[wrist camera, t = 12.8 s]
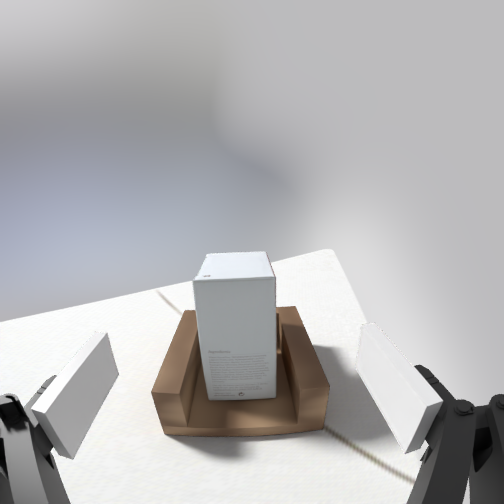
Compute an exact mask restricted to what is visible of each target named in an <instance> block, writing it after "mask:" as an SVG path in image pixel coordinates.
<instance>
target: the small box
mask: <svg viewBox="0 0 504 504" xmlns="http://www.w3.org/2000/svg"><path fill="white" fill-rule="evenodd" d="M192 283H193V291H194V301H195V310H196V317H197V327H198V336H199V343H200V351H201V358H202V364H203V371H204V377H205V383H206V389H207V394H208V399H209V400H249V399H267V398H276V368H277V366H276V357H277V353H276V277H275V274H274V272H273V269H272V266H271V264H270V261H269V258H268V255H267V252H239V253H216V254H215V253H213V254H207V255H206V258H205V260H204V263H203V264H202V267H201V268H200V270H199V272H198V274H197V275H196V277H195V278H194V280H193V281H192Z"/></svg>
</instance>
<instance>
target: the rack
mask: <svg viewBox="0 0 504 504" xmlns="http://www.w3.org/2000/svg"><path fill="white" fill-rule="evenodd" d="M276 353H277V357H276V366H277V368H276V398H267V399H249V400H209V399H208V394H207V389H206V383H205V377H204V371H203V364H202V358H201V351H200V343H199V336H198V327H197V317H196V310H185V311H184V313H183V316H182V318H181V320H180V323H179V325H178V328H177V330H176V332H175V335H174V337H173V339H172V342H171V344H170V347H169V349H168V351H167V354H166V356H165V359H164V361H163V364H162V366H161V369H160V371H159V374H158V376H157V379H156V381H155V384H154V386H153V389H152V391H151V393H152V397H153V400H154V403H155V407H156V410H157V413H158V416H159V419H160V422H161V425H162V428H163V431H164V434H170V435H184V436H210V437H236V436H262V435H276V434H287V433H297V432H306V431H313V430H320V429H323V425H324V420H325V414H326V408H327V402H328V395H329V389H330V386H329V383H328V381H327V379H326V376H325V374H324V371H323V369H322V367H321V364H320V362H319V360H318V357H317V355H316V353H315V350H314V348H313V346H312V343H311V341H310V339H309V336H308V334H307V332H306V329H305V327H304V325H303V323H302V320H301V318H300V316H299V313H298V311H297V309H296V306H290V307H276Z"/></svg>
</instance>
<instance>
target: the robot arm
mask: <svg viewBox="0 0 504 504" xmlns="http://www.w3.org/2000/svg"><path fill="white" fill-rule="evenodd" d="M355 369H356V370H357V372H358V374H359V375H360V377H361V379H362V380H363V382H364V384H365V386H366V387H367V389H368V391H369V392H370V394H371V396H372V398H373V399H374V401H375V403H376V405H377V406H378V408H379V410H380V411H381V413H382V415H383V417H384V418H385V420H386V422H387V424H388V426H389V427H390V429H391V431H392V433H393V434H394V436H395V438H396V440H397V442H398V443H399V445H400V447H401V449H402V451H403V452H404V454H406V453H409V452H412V451H415V450H418V449H420V448H421V446H422V444H423V442H424V440H426V441H427V443H428V444H429V446H428V448H427V449H426V451H425V453H424V455H423V457H422V458H421V460H420V461H423V462H422V465H421V468H420V470H419V473H418V476H417V479H416V481H415V484H414V487H413V489H412V492H411V494H410V497H409V499H408V501H407V504H462V502H463V499H464V494H465V490H466V486H467V481H468V477H469V486H470V504H504V394H498V395H495V396H493V397H492V398H491V400H490V402H489V404H488V405H484V406H477V407H475V406H474V405H473V404H472V403H471V402H469V401H466V400H456V399H454V397H453V396H452V395H451V394H450V392H449V391H448V390H447V389H446V388H445V387H444V386H443V385H442V384H441V383H439V380H438V379H437V378H436V377H434V375H433V374H432V373H431V371H430V370H429V369H427V368H425V367H423V366H422V365H416V366H413V365H412V364H411V362H410V361H409V360H408V359H407V358H406V357H405V356H404V354H403V353H402V352H401V351H400V350H399V349H398V348H397V347H396V346H395V345H394V343H393V342H392V341H391V340H390V339H389V338H388V337H387V335H386V334H385V333H384V332H383V331H382V330H381V329H380V328H379V327H378V326H377V325H376V323H369V324H362V326H361V334H360V341H359V347H358V353H357V359H356V365H355ZM118 375H119V373H118V370H117V366H116V363H115V360H114V356H113V353H112V349H111V345H110V341H109V338H108V334H107V332H94V333H93V335H92V336H91V337H90V338H89V339H88V340H87V341H86V342H85V344H84V345H83V346H82V347H81V348H80V349H79V351H78V352H77V353H76V354H75V355H74V356H73V357H72V359H71V360H70V361H69V362H68V363H67V365H66V366H65V367H64V368H63V369H62V370H61V372H60V373H59V374H58V375H57V376H56V375H54V376H52V377H51V378H49V379H48V380H46V381H45V383H44V384H43V385H42V386H41V388H40V389H39V390H38V391H37V393H35V395H34V396H33V397H32V398H31V400H30V401H29V402H28V403H27V404H26V406H25V407H24V408H23V407H22V405H21V403H20V401H19V399H18V397H17V396H16V395H14V394H4V395H1V396H0V504H71V503H70V501H69V499H68V496H67V494H66V491H65V489H64V486H63V483H62V481H61V478H60V475H59V472H58V469H57V466H56V463H55V460H54V457H53V455H52V453H51V452H50V451H51V449H52V448H53V447H54V448H55V450H56V451H57V453H58V454H59V455H60V456H63V457H66V458H69V459H74V457H75V455H76V453H77V451H78V449H79V447H80V445H81V443H82V441H83V439H84V438H85V436H86V434H87V432H88V430H89V428H90V426H91V424H92V422H93V420H94V419H95V417H96V415H97V413H98V411H99V409H100V408H101V406H102V404H103V402H104V400H105V398H106V397H107V395H108V393H109V391H110V390H111V388H112V386H113V384H114V382H115V381H116V379H117V377H118Z"/></svg>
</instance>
